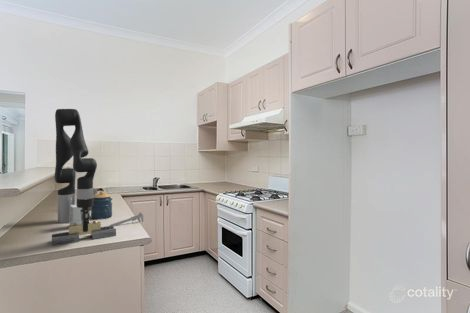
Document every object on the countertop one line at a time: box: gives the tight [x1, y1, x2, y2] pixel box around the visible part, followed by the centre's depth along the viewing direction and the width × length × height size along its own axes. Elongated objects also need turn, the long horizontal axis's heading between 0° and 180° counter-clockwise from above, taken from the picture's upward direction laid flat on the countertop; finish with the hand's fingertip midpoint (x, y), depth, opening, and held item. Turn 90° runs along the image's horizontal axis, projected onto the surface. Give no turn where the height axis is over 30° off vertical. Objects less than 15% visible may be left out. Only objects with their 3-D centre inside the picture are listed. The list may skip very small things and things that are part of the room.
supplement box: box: [69, 204, 82, 225], centre depth 155 cm, size 7×7×13 cm
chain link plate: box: [68, 219, 102, 236], centre depth 135 cm, size 3×14×6 cm, turn 125°
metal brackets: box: [51, 225, 117, 247], centre depth 135 cm, size 8×28×4 cm, turn 125°
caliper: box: [109, 211, 144, 227], centre depth 162 cm, size 20×1×6 cm, turn 129°
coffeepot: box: [88, 187, 105, 211], centre depth 200 cm, size 15×9×18 cm, turn 118°
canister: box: [90, 191, 113, 220], centre depth 178 cm, size 13×13×18 cm
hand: (85, 230), depth 135 cm, fingers closed on chain link plate, 3 cm apart
